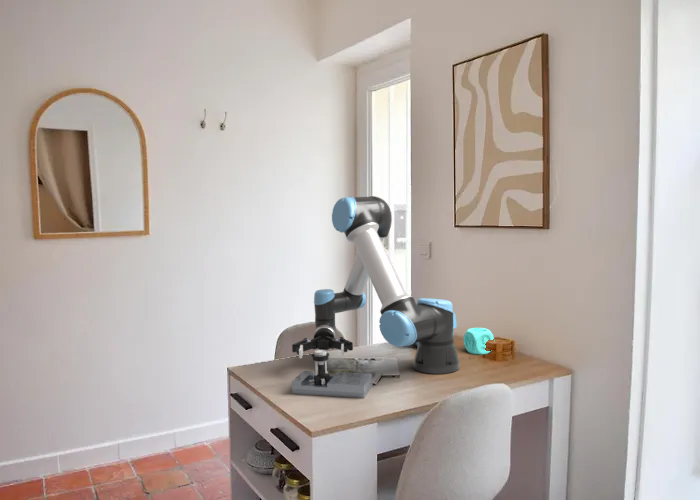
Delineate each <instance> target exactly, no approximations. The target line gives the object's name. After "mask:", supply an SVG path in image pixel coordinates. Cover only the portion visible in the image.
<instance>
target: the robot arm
mask: <svg viewBox="0 0 700 500" xmlns="http://www.w3.org/2000/svg"><path fill="white" fill-rule="evenodd" d="M392 219H393V217H392V211H391V208H390V206H389V204H388V203H387V202H386V200H384V199H383V198H381V197H378V196H374V195H373V196H372V195H371V196H350V195H349V196H348V197H346V196H345V197H342V198H340V199H338V200H337V201H336V202H335V204H334V205H333V208H332V212H331V223H332V226H333V228H334V230H336V231H337V232H339V233H344V235H345V237H346V239H347V241H349V242H350V243H353V244H354V246H355V248H356V253H355V254H356V255H355V257H354V260H353V263H352V266H351V269H350V271H349V273H348V277H347V279H346V283H345V286H344V289H343V291H341V292H335V291H334V290H333V289H330V288H329V289H328V288H327V289H326V288H322V289H317V290H315V292H314V298H313V303H314V316H315V317H314V326H315V327H314V328H315V329H314V334H313V338H312V339H311V340H309V339H308V338H307V337H304V338H303V339H302V340H299V341H297V342H295V343H293V344H292V345H291V349H292V350H291V351H292V353H296V355H298V358H299V359H303V355H304V352H306V351H309V350H326V351H328V350H330V349H331V350H333V349H335V350H339V351H341V352H340V353H341V358H345V353H348V351H353V350H354V345H353V342H352V341H350V340H348V339H345V338H344V337H343V336H339V338H338V339H336V333H337V326H336V314H339V313H344V312H349V311H356V310H358V309H362V308H363V307H365V305H366V303H367V301H366V300H367V296H366V293H365V289H366V287H367V283H368V281H369V279H370V282H371V284H372V286H373V288H374V290H375V292H376V295H377V297H378V299H379V301H380V303H381V308H380V311H379V313H380V317H379V321H378V323H379V327H378V328H379V331H380V334H381V336H382V337H383V338H384V340H385V341H386V342H387V343H389V344H390V345H391V346H394V347H399V348H400V347H408V346H411V345H415V344H416V343H417V342H418V346H417V349H416V350H415V351H416V352H415V355H414V359H413V368H414V370H416V371H417V372H421V373H424V374H425V373H426V374H432V375H434V374H435V375H439V374H440V375H442V374H450V373H451V374H452V373H455V372H457V371H459V369H460V358H459V356H458V353H457V351H456V347H455V344H454V337H455V336H454V337H453V331H454V329H453V314H454V313H455V312H454V307H453V306H454V305H453V302H451V301H450V300H447V299H441V298H429V297H427V298H425V297H422V298H418V299H417V302H416V301H415V298H414V297H413V296H412V295H410V294H407V292H406V291H405V288H404V286H403V284H402V282H401V280H400V277H399V276H398V274H397V270H396V269H395V267H394V265H393V263H392V261H391V259H390V256H389V254H388V253H387V250H386V248H385V246H384V244H383V241H384V239H386V238H388V236H389V233H390V231H391V227H392V221H393V220H392Z"/></svg>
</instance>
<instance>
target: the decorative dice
mask: <svg viewBox="0 0 700 500" xmlns="http://www.w3.org/2000/svg"><path fill="white" fill-rule="evenodd" d="M493 339H494V340H495V337H494V334H493V333H492V331H491V330H490V329H488V328H485V327H472V328H471V327H470V328H468V329H467V330H466V332H465V333H464V335H463V343H464V347H465V350H466V351H467V352H468V353H469V354H472V355H488V354H489V353H491V351H486V350H485V348H486V345H485V344H486V342H487V341H488V340H493Z"/></svg>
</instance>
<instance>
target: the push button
mask: <svg viewBox="0 0 700 500" xmlns="http://www.w3.org/2000/svg"><path fill="white" fill-rule="evenodd" d="M311 357H312V361H313V362H314V369H315V371H314V374H313V375H314V376H313V380H310V382H311V381H313V383H310V384H315V385H316V386H317V385H323V384H327V383H328V382H329V381H330V376H331V375H330V374H328V373H329V371H328V370H327V369H328V365H327V361H328V360H329V357H330V353H329V352H327V350H320V349H315V350H314V352H313V353H312V354H311Z"/></svg>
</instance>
